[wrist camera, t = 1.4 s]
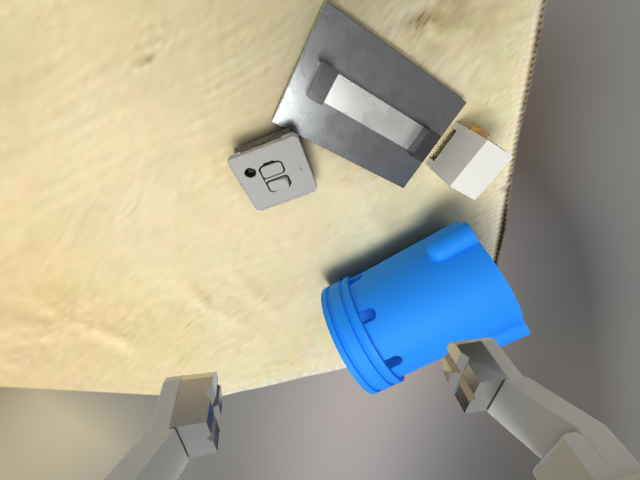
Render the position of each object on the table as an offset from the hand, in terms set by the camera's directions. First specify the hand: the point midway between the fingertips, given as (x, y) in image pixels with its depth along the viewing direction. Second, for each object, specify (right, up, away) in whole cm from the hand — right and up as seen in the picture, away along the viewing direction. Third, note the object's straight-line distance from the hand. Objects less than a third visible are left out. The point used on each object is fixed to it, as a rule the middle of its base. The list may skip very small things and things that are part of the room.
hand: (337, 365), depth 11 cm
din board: (+6, +22, +31) cm, 39 cm away
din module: (+19, +18, +37) cm, 45 cm away
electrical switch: (-11, +14, +34) cm, 38 cm away
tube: (+14, -1, +50) cm, 52 cm away
